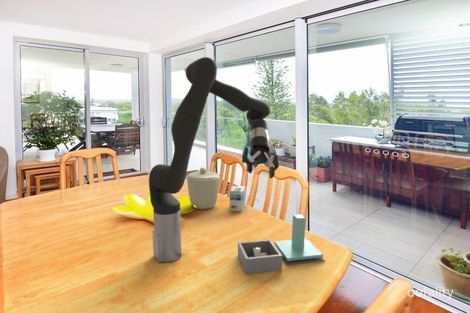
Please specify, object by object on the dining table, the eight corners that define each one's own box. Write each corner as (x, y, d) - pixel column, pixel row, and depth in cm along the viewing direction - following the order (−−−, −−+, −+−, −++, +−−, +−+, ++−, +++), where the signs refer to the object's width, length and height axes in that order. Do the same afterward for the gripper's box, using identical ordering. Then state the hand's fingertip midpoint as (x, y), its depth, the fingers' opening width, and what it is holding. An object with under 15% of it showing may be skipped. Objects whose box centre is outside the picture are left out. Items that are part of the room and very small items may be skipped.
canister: (226, 208, 160) (226, 169, 157) (195, 214, 151) (194, 173, 147) (210, 199, 176) (210, 163, 172) (181, 204, 166) (180, 166, 162)
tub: (281, 272, 100) (282, 255, 99) (246, 276, 98) (246, 259, 97) (269, 254, 112) (270, 239, 111) (237, 258, 109) (237, 242, 108)
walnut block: (268, 269, 100) (269, 258, 100) (257, 270, 100) (257, 259, 99) (265, 263, 104) (265, 252, 104) (253, 264, 103) (253, 253, 103)
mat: (324, 263, 106) (324, 260, 106) (286, 267, 103) (286, 264, 103) (306, 245, 120) (307, 242, 120) (272, 248, 117) (272, 245, 117)
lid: (322, 259, 107) (324, 221, 104) (287, 263, 104) (288, 224, 101) (306, 243, 119) (308, 208, 117) (274, 246, 116) (275, 211, 114)
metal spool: (255, 261, 105) (255, 250, 105) (250, 258, 108) (250, 247, 107) (262, 259, 107) (262, 248, 106) (257, 255, 109) (257, 245, 109)
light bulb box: (242, 212, 155) (242, 191, 154) (229, 211, 157) (229, 190, 155) (245, 205, 166) (246, 185, 164) (233, 204, 167) (233, 185, 165)
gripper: (246, 131, 118) (247, 164, 108) (279, 140, 122) (283, 173, 112) (239, 142, 124) (239, 176, 114) (271, 151, 128) (274, 183, 118)
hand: (261, 174), depth 113 cm, fingers open, 8 cm apart
